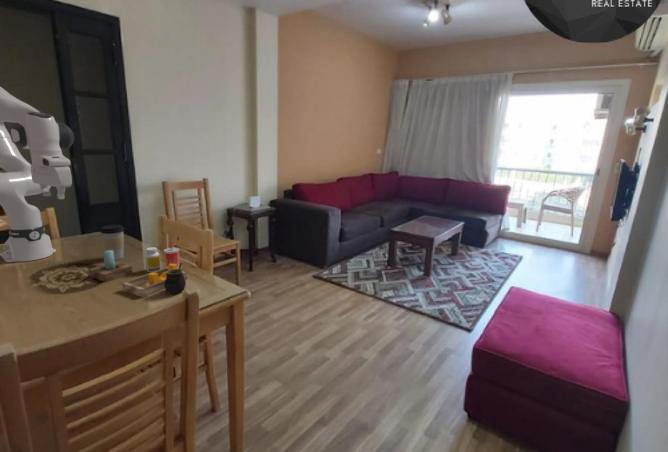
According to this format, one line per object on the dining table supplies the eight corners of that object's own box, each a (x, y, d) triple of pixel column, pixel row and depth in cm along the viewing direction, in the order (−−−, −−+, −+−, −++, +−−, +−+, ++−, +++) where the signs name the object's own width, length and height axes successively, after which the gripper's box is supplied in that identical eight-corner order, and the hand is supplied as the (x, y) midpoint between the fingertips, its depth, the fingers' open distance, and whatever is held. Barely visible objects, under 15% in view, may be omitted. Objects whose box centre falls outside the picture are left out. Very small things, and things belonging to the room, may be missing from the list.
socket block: (89, 276, 141) (88, 269, 140) (116, 267, 151) (115, 261, 150) (105, 281, 136) (104, 274, 136) (132, 272, 146) (131, 266, 145)
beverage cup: (177, 272, 148) (174, 240, 145) (162, 271, 148) (159, 240, 145) (183, 266, 154) (180, 236, 151) (169, 266, 154) (166, 236, 151)
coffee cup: (117, 261, 157) (113, 230, 154) (99, 260, 159) (94, 228, 155) (132, 255, 166) (128, 224, 163) (114, 253, 168) (110, 223, 164)
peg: (104, 275, 143) (100, 251, 140) (113, 272, 146) (109, 249, 143) (109, 276, 141) (106, 253, 139) (118, 273, 144) (115, 251, 142)
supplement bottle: (163, 269, 150) (161, 248, 148) (151, 273, 146) (149, 251, 143) (155, 266, 153) (153, 245, 151) (143, 270, 149) (141, 249, 146)
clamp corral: (123, 290, 130) (122, 283, 129) (168, 273, 146) (167, 266, 146) (142, 297, 125) (141, 289, 124) (187, 279, 141) (186, 272, 141)
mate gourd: (160, 294, 128) (158, 268, 125) (172, 286, 135) (170, 262, 132) (179, 296, 127) (176, 270, 124) (190, 287, 134) (188, 263, 132)
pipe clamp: (169, 277, 143) (168, 262, 141) (178, 279, 142) (177, 264, 140) (146, 289, 132) (144, 273, 130) (155, 291, 130) (153, 275, 129)
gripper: (22, 158, 127) (29, 195, 130) (52, 161, 118) (59, 201, 121) (42, 157, 132) (49, 193, 135) (72, 160, 123) (78, 199, 127)
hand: (54, 197), depth 128 cm, fingers open, 8 cm apart
